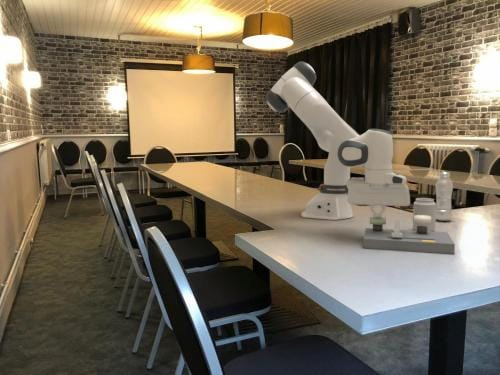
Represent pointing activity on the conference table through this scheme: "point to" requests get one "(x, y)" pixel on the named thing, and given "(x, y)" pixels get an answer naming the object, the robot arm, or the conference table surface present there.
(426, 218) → the cream button
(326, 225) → the conference table surface
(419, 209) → the can
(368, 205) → the phone
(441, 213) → the plastic bottle
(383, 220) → the sage button
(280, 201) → the conference table surface
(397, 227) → the paddle lever
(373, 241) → the control panel
